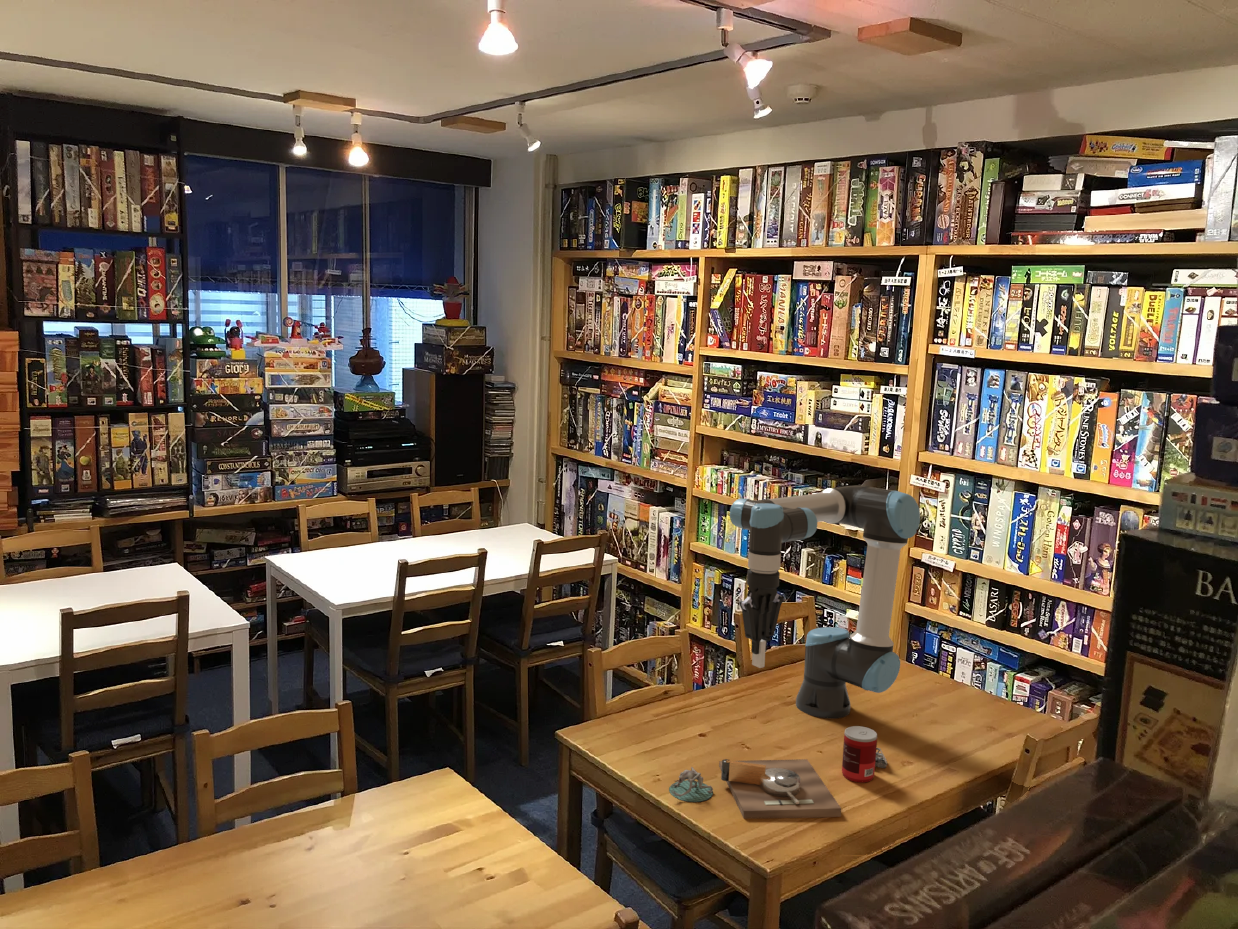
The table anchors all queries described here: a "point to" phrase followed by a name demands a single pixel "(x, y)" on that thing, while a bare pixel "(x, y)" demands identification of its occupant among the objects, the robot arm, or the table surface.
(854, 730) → the canned food
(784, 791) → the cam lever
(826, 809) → the level stand
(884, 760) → the house of cards
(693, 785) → the figurine
